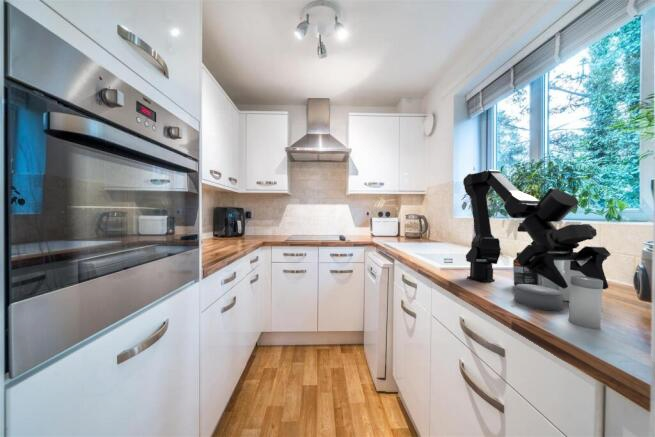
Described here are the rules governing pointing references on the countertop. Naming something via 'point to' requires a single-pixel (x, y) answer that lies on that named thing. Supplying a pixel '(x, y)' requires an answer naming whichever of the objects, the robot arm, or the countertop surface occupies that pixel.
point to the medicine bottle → (569, 278)
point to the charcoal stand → (538, 297)
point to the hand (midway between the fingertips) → (586, 288)
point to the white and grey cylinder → (585, 301)
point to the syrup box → (547, 283)
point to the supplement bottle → (523, 274)
